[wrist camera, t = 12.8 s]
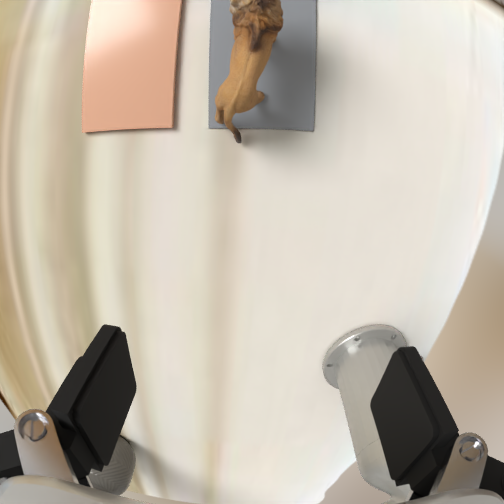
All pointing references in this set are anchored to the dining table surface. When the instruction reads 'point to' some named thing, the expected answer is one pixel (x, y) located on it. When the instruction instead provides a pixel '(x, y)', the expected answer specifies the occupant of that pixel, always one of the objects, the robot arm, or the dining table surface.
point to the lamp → (115, 470)
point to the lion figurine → (247, 57)
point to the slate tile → (271, 69)
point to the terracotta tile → (130, 64)
